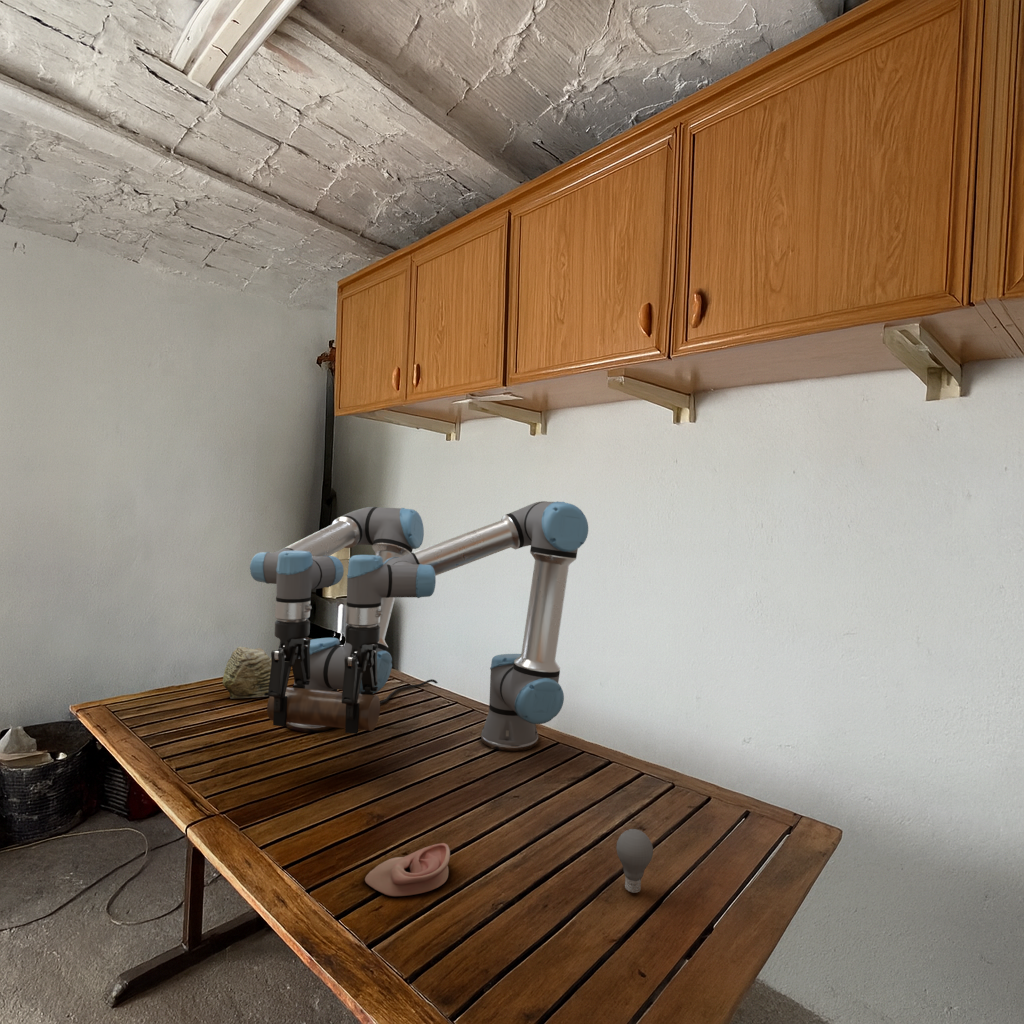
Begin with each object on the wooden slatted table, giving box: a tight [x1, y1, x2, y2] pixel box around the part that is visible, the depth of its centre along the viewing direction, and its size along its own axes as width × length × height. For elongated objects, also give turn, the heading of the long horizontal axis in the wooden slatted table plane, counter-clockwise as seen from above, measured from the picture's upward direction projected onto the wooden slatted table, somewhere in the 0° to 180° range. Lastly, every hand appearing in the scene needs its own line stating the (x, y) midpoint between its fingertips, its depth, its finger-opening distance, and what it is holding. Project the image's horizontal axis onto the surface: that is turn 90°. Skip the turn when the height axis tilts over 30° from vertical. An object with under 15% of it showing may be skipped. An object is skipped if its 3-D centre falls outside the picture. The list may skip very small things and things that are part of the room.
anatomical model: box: [364, 842, 451, 897], centre depth 107 cm, size 13×4×12 cm
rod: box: [266, 686, 381, 732], centre depth 143 cm, size 24×8×8 cm, turn 81°
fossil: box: [222, 646, 272, 699], centre depth 198 cm, size 9×18×15 cm, turn 132°
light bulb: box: [615, 828, 654, 894], centre depth 106 cm, size 6×6×10 cm
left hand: (289, 718), depth 144 cm, fingers closed on rod, 7 cm apart
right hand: (359, 726), depth 142 cm, fingers closed on rod, 8 cm apart
